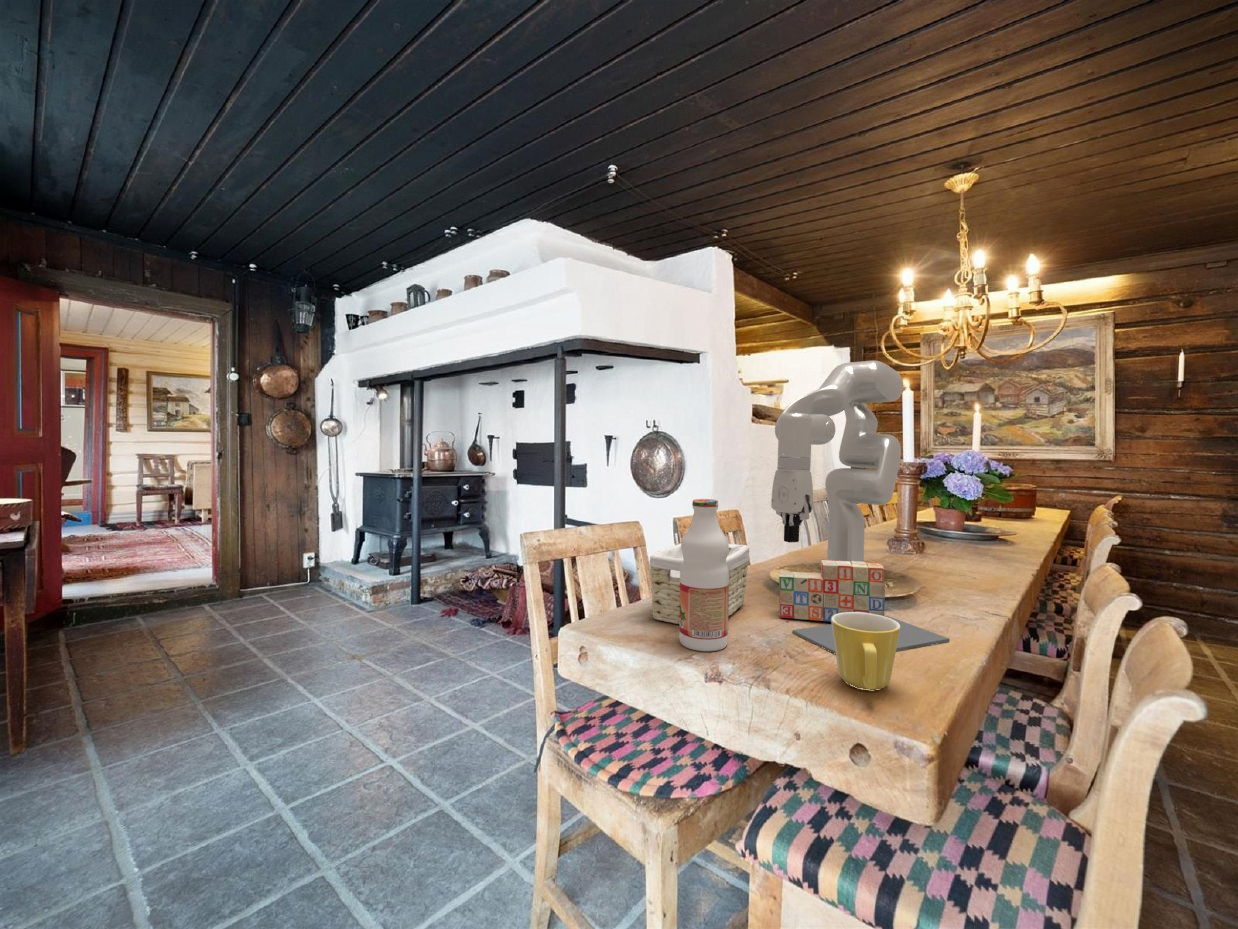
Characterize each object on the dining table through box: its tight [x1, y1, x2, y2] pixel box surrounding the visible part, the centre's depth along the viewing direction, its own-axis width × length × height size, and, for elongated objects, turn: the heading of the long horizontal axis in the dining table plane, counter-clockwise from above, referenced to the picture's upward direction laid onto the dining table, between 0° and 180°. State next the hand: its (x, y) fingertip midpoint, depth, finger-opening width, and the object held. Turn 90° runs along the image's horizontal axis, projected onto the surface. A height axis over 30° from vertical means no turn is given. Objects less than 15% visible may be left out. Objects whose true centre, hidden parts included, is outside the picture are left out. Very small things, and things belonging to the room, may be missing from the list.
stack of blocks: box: [778, 559, 886, 622], centre depth 122 cm, size 21×6×12 cm, turn 72°
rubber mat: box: [791, 615, 950, 655], centre depth 112 cm, size 15×26×1 cm, turn 112°
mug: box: [830, 612, 900, 690], centre depth 89 cm, size 14×10×10 cm
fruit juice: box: [678, 498, 730, 652], centre depth 107 cm, size 9×9×28 cm
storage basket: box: [649, 543, 750, 625], centre depth 127 cm, size 24×16×15 cm
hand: (791, 541), depth 133 cm, fingers closed
